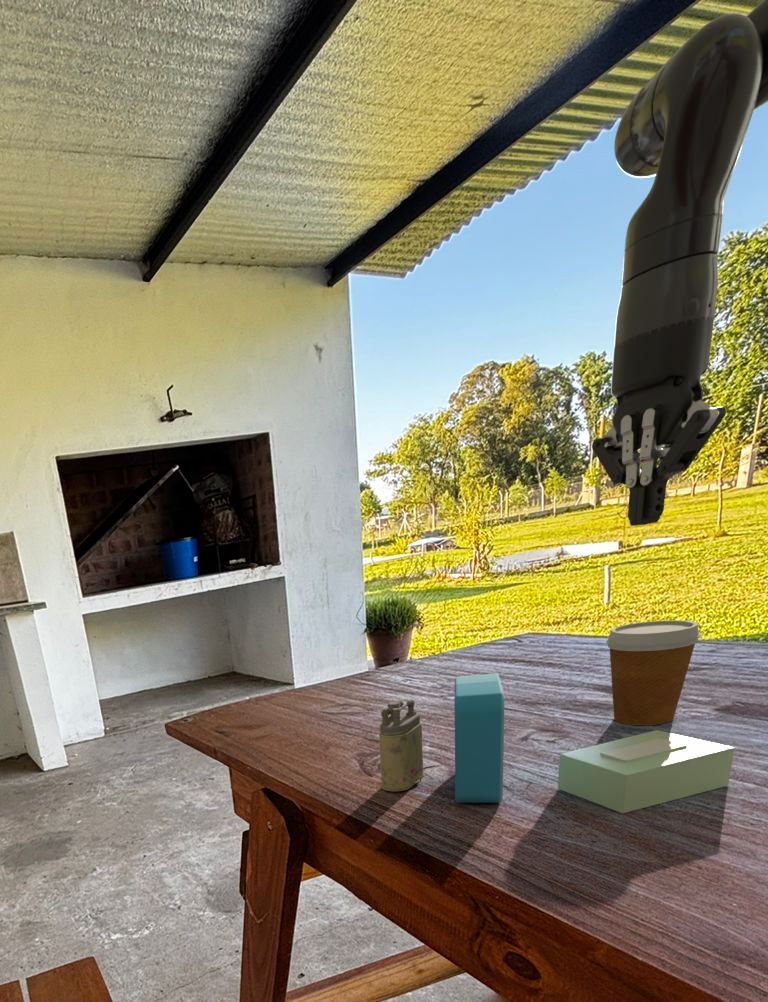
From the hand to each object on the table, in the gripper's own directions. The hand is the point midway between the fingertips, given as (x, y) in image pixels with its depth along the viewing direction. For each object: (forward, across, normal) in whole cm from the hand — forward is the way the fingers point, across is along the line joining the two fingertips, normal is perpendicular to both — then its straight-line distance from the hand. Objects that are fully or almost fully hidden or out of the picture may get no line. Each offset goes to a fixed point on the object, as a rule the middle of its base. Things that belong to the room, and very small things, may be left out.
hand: (644, 524), depth 65 cm
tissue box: (+23, -6, +8) cm, 25 cm away
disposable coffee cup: (+25, +7, -10) cm, 28 cm away
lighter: (+25, +5, +26) cm, 36 cm away
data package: (+25, -1, +20) cm, 32 cm away
